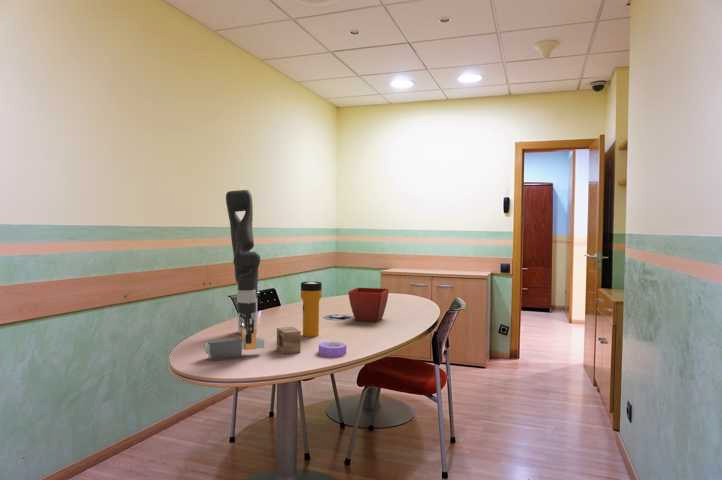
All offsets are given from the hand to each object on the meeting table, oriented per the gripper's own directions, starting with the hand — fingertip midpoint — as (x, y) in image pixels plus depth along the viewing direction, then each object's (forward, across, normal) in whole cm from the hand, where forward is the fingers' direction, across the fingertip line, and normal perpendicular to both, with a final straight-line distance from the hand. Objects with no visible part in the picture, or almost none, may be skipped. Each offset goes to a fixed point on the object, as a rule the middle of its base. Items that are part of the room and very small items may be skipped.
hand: (246, 341), depth 202 cm
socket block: (+6, 0, +18) cm, 19 cm away
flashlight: (+6, -23, +38) cm, 44 cm away
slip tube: (+3, 0, -5) cm, 5 cm away
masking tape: (+6, +11, +34) cm, 36 cm away
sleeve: (+6, 0, -8) cm, 10 cm away
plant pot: (+6, -47, +82) cm, 95 cm away
